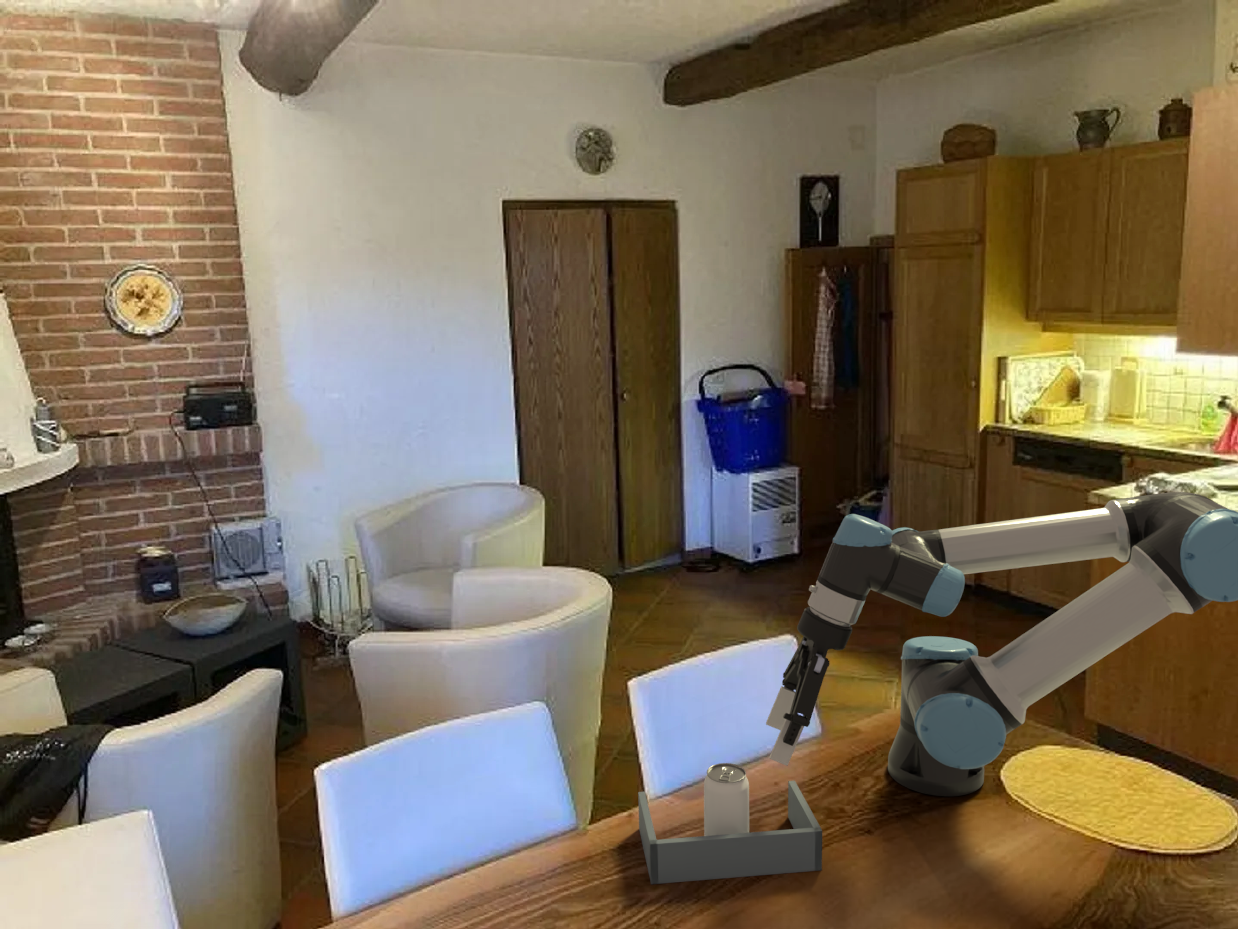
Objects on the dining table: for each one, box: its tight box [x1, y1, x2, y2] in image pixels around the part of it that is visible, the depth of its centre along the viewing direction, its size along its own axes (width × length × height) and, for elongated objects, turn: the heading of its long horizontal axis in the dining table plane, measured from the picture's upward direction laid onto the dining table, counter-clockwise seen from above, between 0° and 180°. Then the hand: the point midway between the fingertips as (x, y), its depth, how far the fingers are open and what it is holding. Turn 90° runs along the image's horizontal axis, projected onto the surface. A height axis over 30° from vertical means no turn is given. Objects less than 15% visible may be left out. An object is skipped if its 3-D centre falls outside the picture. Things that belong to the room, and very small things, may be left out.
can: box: [703, 762, 750, 836], centre depth 141 cm, size 6×6×12 cm
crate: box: [637, 780, 823, 885], centre depth 142 cm, size 14×24×6 cm, turn 96°
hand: (776, 743), depth 148 cm, fingers open, 13 cm apart
